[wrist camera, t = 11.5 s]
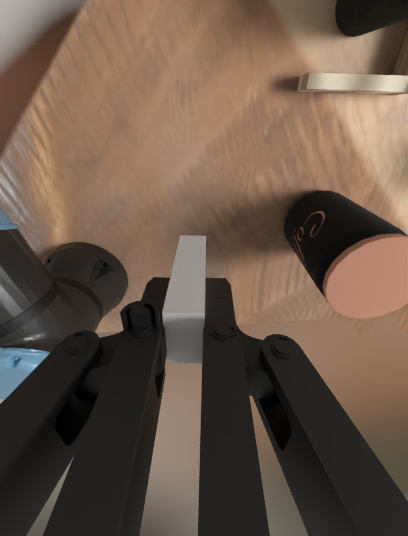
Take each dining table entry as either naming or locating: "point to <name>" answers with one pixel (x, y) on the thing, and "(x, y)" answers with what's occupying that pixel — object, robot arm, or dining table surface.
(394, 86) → the bay
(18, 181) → the dining table surface
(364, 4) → the cup
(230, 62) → the dining table surface
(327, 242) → the coffee jar
